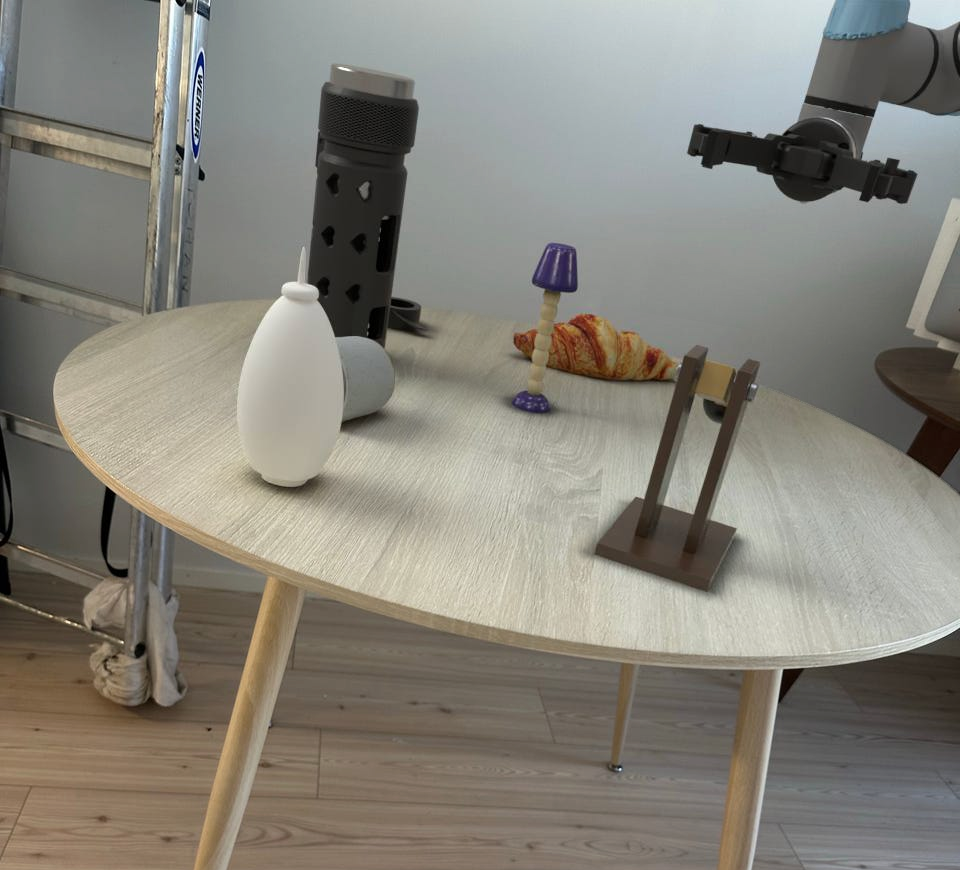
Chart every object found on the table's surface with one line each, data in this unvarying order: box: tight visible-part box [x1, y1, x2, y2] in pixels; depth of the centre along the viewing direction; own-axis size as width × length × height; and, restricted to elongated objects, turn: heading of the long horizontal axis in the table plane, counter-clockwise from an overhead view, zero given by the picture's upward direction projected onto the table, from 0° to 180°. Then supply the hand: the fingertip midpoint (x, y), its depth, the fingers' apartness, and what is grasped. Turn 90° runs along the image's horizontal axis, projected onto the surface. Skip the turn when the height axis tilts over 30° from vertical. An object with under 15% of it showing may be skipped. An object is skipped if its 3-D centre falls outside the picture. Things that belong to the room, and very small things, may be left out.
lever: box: [695, 359, 737, 425], centre depth 81 cm, size 14×4×4 cm, turn 158°
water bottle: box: [306, 63, 420, 350], centre depth 105 cm, size 10×28×10 cm
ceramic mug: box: [335, 336, 396, 423], centre depth 95 cm, size 11×8×8 cm
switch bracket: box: [593, 344, 761, 593], centre depth 79 cm, size 12×9×16 cm
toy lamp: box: [511, 242, 579, 414], centre depth 104 cm, size 5×5×17 cm
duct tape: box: [387, 296, 428, 332], centre depth 127 cm, size 8×10×3 cm
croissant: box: [512, 313, 679, 381], centre depth 125 cm, size 21×10×8 cm, turn 97°
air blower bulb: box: [236, 246, 344, 488], centre depth 76 cm, size 8×8×18 cm
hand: (787, 165), depth 85 cm, fingers open, 13 cm apart
